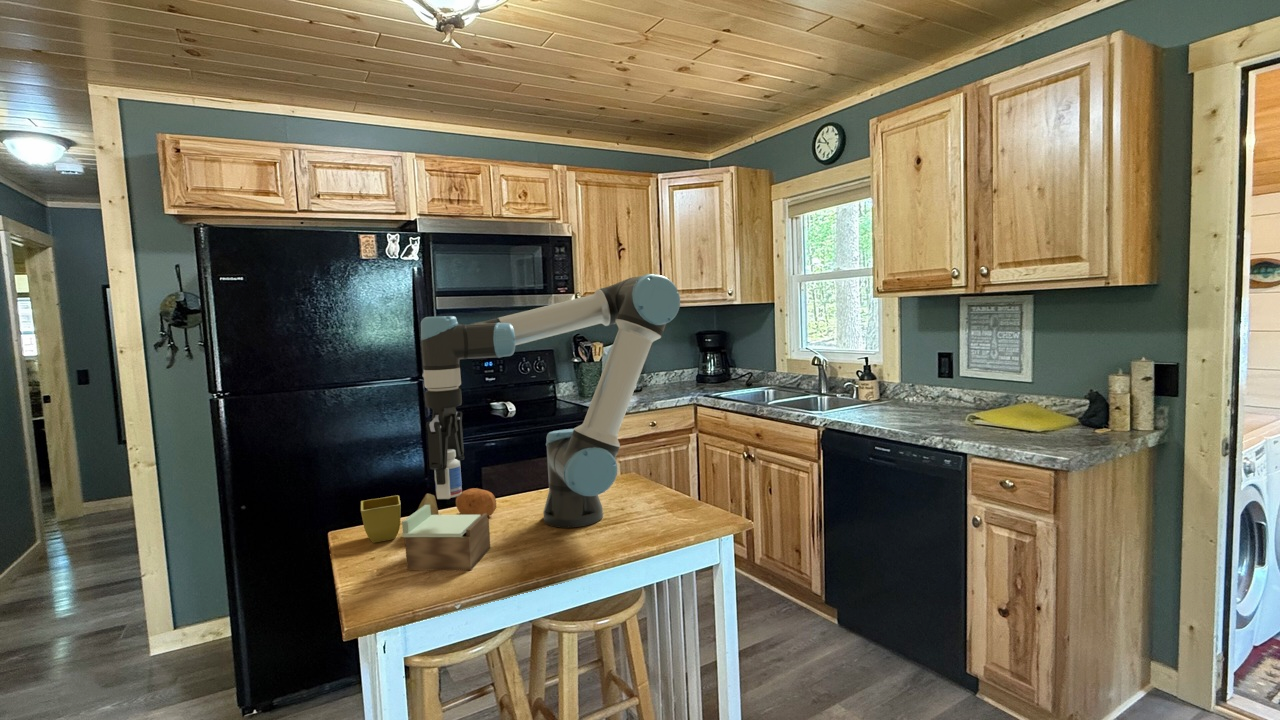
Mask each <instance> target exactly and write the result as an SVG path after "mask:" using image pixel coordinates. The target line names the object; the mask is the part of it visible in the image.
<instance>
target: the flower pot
mask: <svg viewBox="0 0 1280 720" xmlns="http://www.w3.org/2000/svg"><path fill="white" fill-rule="evenodd" d="M400 499H401V498H400V495H398V494H397V495H396V494H395V495H391V496H385V497H380V498H379V497H378V498H371V499H366V500H361V501H360V513H361V518H362V519H361V520H362V523H363V528H364V531H365V533H366V535H367V538H368V539H369V540H370V541H371V542H372V543H373V544H376V543H379V542H386V541H391V540H395V539H396V538H397V536H398V534H399V530H400V528H401V509H402V507H401V500H400Z"/></svg>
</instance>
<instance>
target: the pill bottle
mask: <svg viewBox="0 0 1280 720" xmlns="http://www.w3.org/2000/svg"><path fill="white" fill-rule="evenodd" d="M455 457H456V450H454V449H447V468H449V478H450V493H451V498H457V496H459V495H460V494H461V493H462V492H463V488H462V486H461V484H462V472H460V468H461V461H460V460H459V461H460V462H459V461H458V460H457V459H455ZM433 471H434V484H435V485H434V486H435V497H437V489H436V474H435V469H433ZM451 498H450V499H451Z"/></svg>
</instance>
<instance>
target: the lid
mask: <svg viewBox="0 0 1280 720" xmlns="http://www.w3.org/2000/svg"><path fill="white" fill-rule="evenodd" d="M480 516H481V515H461V514H439V515H431V508H430V505H424V506H423V507H421V508H420V509H419V510H418V509H417V510H416V511H415V512H413V513H412V514H410V515H409V516H407V517H406V518H405V519H404V520H402V521H401V522H402V523H401V525H402V534H401V537H402V538H405V537H461V536H463V535H464V534H465V533H466V530H467V529H468V528H469V527H470V526H471V525H472V524H473V523H474V522H475V521H476V520H477V519H478V518H479V517H480Z"/></svg>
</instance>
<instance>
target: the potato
mask: <svg viewBox="0 0 1280 720" xmlns="http://www.w3.org/2000/svg"><path fill="white" fill-rule="evenodd" d="M455 507H456V509H457V510H458V512H459V513H460V514H459V515H482V514H484V513H487V517H490V516H492V515H493V514H494V512H495V511H496V509H497V499H496V497H495V495H494V493H492V492H491V491H489V490H486V489H481V488H478V487H476V488H474V487H473V488H468V489H466V490H462V493H461V494H460V495H459V496H456V497H455Z"/></svg>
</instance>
